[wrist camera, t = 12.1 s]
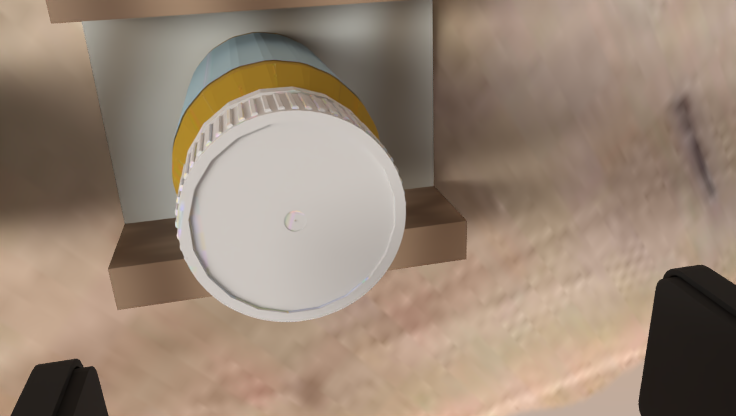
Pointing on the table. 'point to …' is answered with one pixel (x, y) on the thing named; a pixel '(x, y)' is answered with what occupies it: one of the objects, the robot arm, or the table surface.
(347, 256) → the bottle
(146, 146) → the u rest
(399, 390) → the table surface
